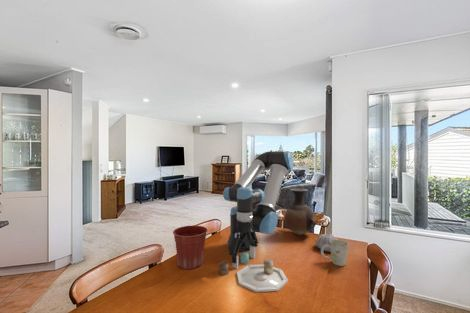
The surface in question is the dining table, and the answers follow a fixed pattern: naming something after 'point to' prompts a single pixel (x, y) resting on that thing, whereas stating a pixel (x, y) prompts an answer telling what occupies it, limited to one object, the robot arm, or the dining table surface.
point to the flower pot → (190, 246)
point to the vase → (299, 215)
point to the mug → (337, 252)
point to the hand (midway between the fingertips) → (244, 264)
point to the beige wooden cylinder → (268, 266)
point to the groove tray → (261, 278)
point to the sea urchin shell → (325, 241)
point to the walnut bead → (223, 268)
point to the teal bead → (244, 258)
